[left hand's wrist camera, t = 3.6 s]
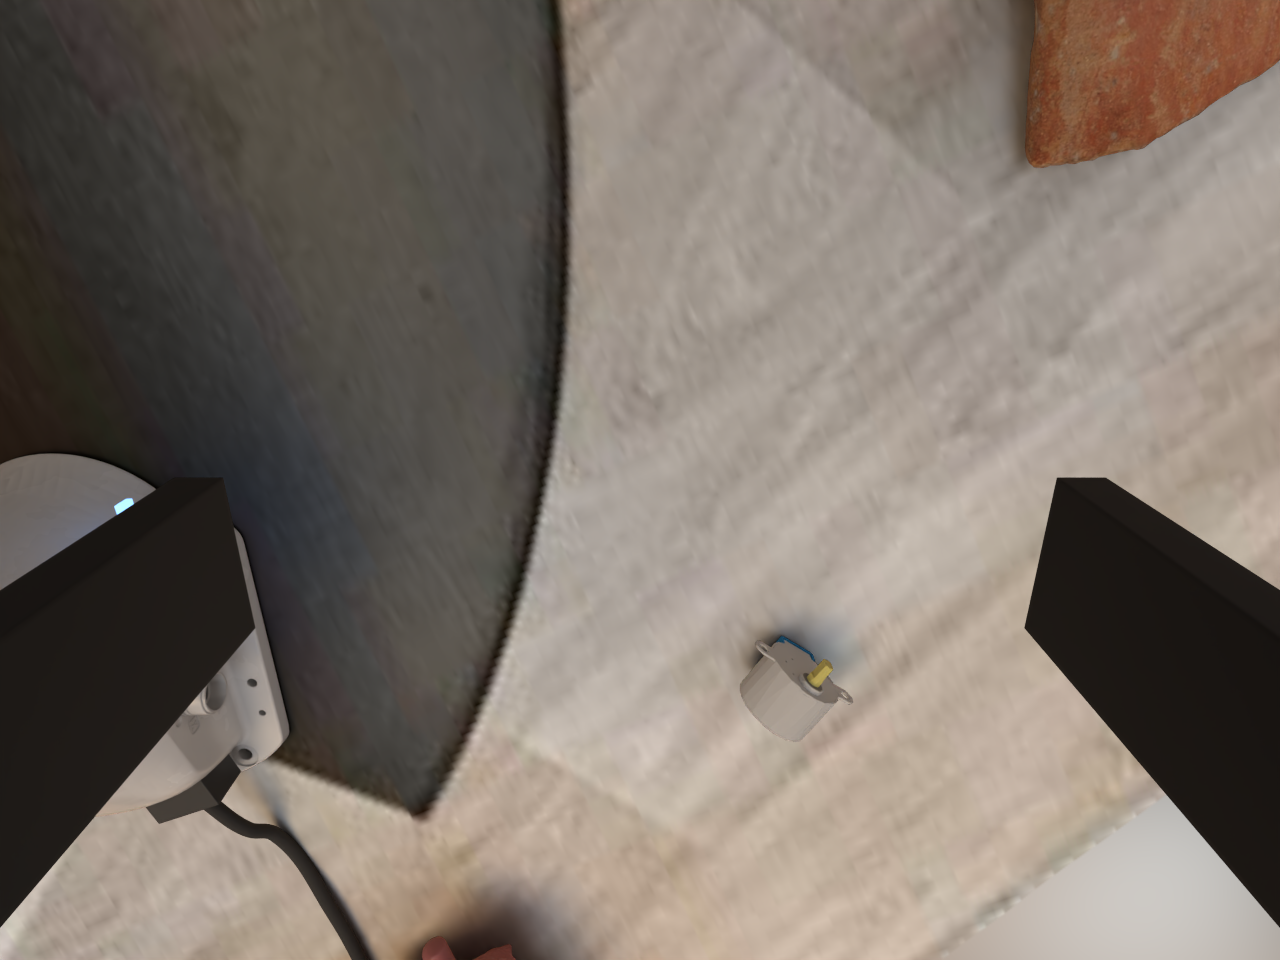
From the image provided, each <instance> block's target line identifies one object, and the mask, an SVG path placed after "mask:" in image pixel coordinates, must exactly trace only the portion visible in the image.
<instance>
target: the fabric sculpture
mask: <svg viewBox="0 0 1280 960" xmlns="http://www.w3.org/2000/svg"><path fill="white" fill-rule="evenodd" d="M422 958H423V960H456V959H455V958H454V955H453V953H452V951H451V950H450V948H449V946H448V944H447V942H446V940H445V939H444V938H443V937H440V936H438V937H434V938H432V939H430V940H429V941H428V942H427V943H426V944H425V946H424V948H423V951H422ZM472 960H516V959H515V958H514V957H513V956H512V947H511V945H509V944H507V945H504V946H502V947H499V948H492V949H490V950H489V951H487V952H486V953H485V954H483V955H480V956H479V957H477V958H475V959H472Z"/></svg>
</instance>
